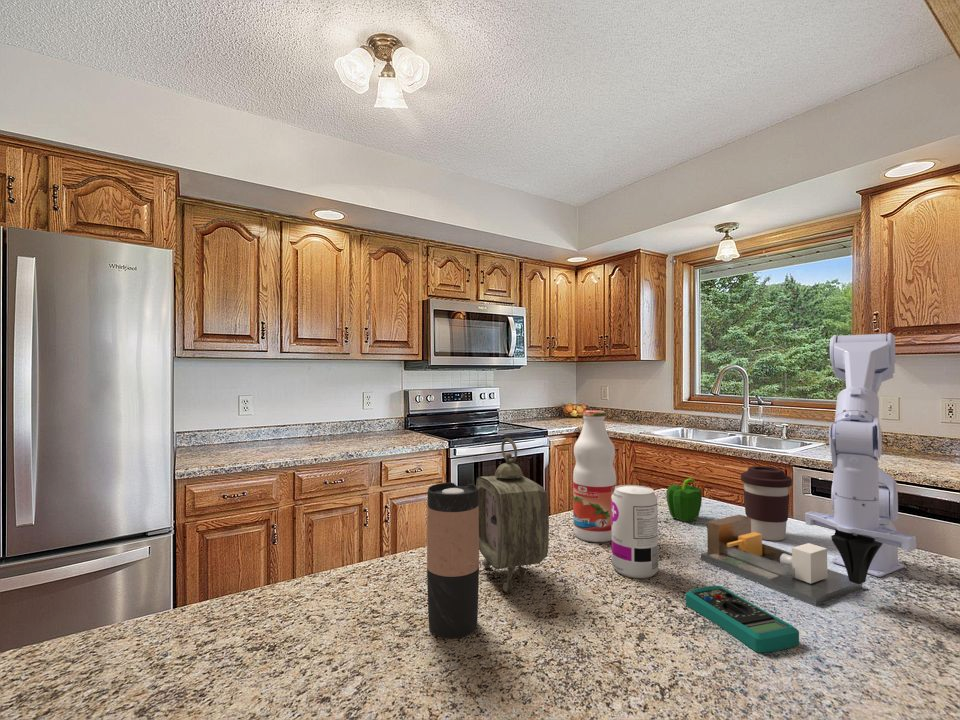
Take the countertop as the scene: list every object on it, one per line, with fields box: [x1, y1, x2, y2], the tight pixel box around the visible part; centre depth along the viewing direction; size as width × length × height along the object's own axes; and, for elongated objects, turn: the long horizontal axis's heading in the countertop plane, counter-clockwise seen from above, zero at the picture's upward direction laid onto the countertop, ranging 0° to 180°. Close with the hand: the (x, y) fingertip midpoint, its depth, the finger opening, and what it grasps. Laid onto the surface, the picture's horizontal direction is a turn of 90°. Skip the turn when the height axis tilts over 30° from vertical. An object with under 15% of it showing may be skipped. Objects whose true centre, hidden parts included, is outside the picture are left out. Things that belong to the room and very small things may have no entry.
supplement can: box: [611, 484, 659, 579], centre depth 91 cm, size 8×8×15 cm
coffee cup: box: [740, 465, 793, 542], centre depth 109 cm, size 10×10×15 cm
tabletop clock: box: [475, 437, 550, 593], centre depth 88 cm, size 14×9×25 cm, turn 18°
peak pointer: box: [727, 532, 763, 556], centre depth 93 cm, size 2×9×4 cm, turn 117°
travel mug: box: [426, 482, 480, 639], centre depth 71 cm, size 8×8×20 cm
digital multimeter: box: [685, 585, 800, 654], centre depth 72 cm, size 7×15×3 cm, turn 17°
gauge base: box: [700, 514, 863, 607], centre depth 89 cm, size 21×14×7 cm, turn 28°
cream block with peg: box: [780, 542, 828, 584], centre depth 86 cm, size 6×5×5 cm
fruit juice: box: [572, 409, 617, 543], centre depth 110 cm, size 9×9×28 cm
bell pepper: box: [665, 477, 703, 522], centre depth 122 cm, size 8×8×10 cm
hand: (857, 581), depth 78 cm, fingers closed
